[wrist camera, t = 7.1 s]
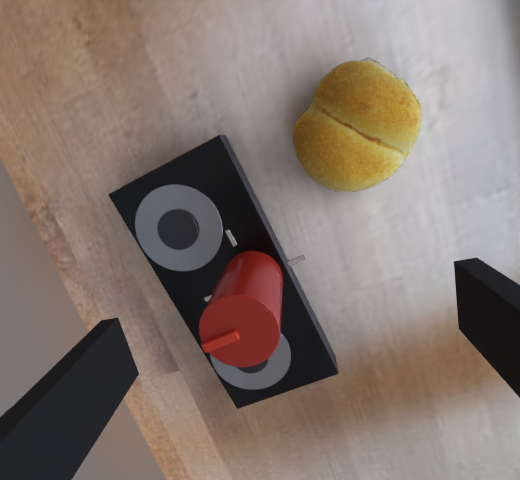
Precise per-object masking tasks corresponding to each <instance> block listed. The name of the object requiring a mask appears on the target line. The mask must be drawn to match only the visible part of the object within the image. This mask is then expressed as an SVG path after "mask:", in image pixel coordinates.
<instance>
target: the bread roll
mask: <svg viewBox="0 0 520 480" xmlns="http://www.w3.org/2000/svg"><path fill="white" fill-rule="evenodd" d="M421 122H422V110H421V105H420V103H419V101H418V100H417V98H416V96H415V95H414V93H413V92H412V90H410V87H409V86H408V84H407V83H406V82H405V81H404V80H403V79H401V78H399V77H397V76H396V75H395V74H394V73H393V72H391V71H390V70H388V69H387V68H385V67H384V66H383V65H382V64H380V63H379V62H376V61H375V60H373V59H371V58H365V59H363V60H360V61H350V62H346V63H343V64H341V65H339V66H337V67H336V68H335V69H333V70H332V71H331V72H330V73H329V74H328V75H327V76H326V77H325V78H324V79H323V80H322V81H321V83H320V84H319V86H318V88H317V89H316V92H315V95H314V98H313V102H312V104H311V105H310V107H309V109H308V110H307V111H306V112H304V113H303V114H302V115H301V116H300V118H299V119H298V120H297V122H296V124H295V127H294V133H293V141H294V146H295V151H296V154H297V157H298V159H299V161H300V163H301V165H302V167H303V168H304V170H305V171H306V173H307V174H308V176H309V177H310V178H311V179H312V180H314V181H315V182H316V183H318V184H319V185H321V186H323V187H325V188H328V189H330V190H334V191H339V192H355V191H361V190H365V189H368V188H371V187H373V186H375V185H377V184H379V183H381V182H382V181H384V180H386V179H388V178H390V177H391V176H392V175H393V174H394V173H395V172H396V171H397V170H398V169H399V168H400V166H401V165H402V163H403V162H404V160H405V159H406V157H407V155H408V153H409V152H410V150H411V149H412V147H413V145H414V143H415V142H416V140H417V137H418V134H419V131H420V127H421Z"/></svg>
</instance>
